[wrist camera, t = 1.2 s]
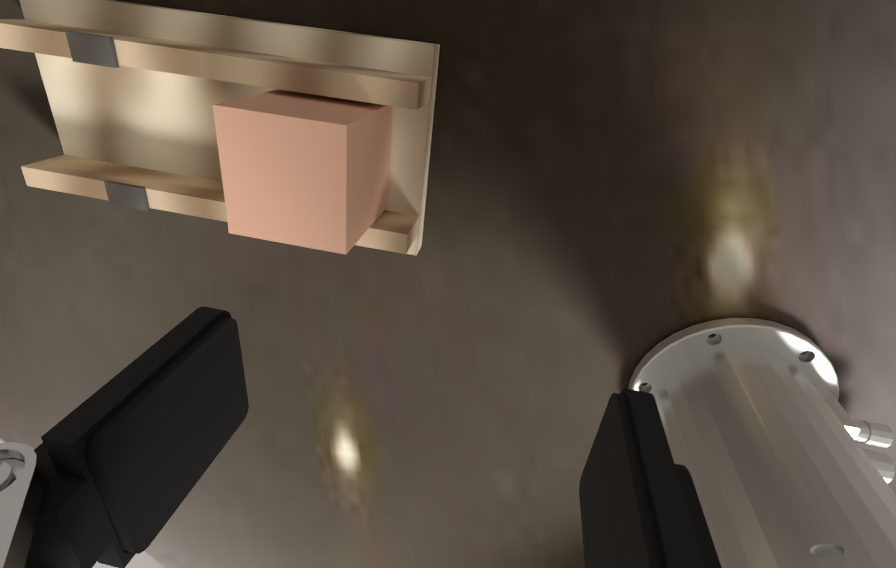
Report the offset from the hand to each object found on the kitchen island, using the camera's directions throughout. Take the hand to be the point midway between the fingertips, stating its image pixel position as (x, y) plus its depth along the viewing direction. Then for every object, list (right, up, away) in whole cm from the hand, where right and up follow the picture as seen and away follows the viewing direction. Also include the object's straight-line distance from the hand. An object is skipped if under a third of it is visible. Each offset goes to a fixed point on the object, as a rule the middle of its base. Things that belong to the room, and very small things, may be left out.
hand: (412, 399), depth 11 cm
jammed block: (-6, +10, +17) cm, 21 cm away
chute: (-12, +12, +19) cm, 26 cm away
